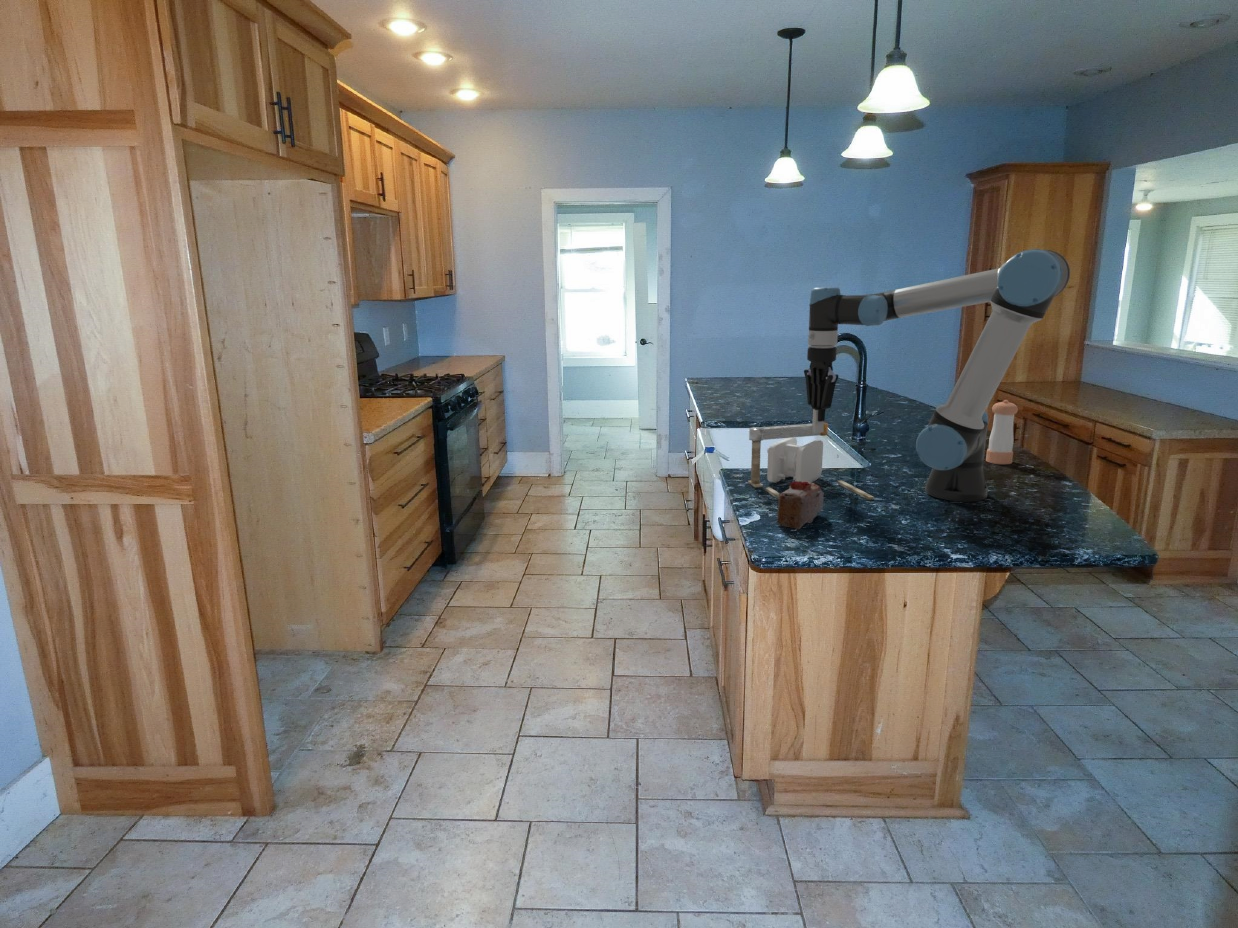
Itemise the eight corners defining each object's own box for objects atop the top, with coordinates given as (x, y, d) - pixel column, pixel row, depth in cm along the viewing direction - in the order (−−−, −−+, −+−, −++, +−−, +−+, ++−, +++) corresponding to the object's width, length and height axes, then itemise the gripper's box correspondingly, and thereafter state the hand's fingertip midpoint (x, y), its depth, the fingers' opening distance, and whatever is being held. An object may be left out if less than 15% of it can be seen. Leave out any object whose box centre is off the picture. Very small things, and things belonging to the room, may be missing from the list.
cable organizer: (799, 490, 202) (801, 449, 199) (764, 484, 208) (766, 444, 205) (822, 478, 213) (824, 439, 210) (788, 472, 219) (790, 434, 216)
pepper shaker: (1016, 464, 223) (1024, 402, 218) (992, 464, 223) (999, 402, 218) (1005, 458, 230) (1012, 397, 225) (981, 458, 230) (988, 398, 225)
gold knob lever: (830, 435, 208) (830, 424, 207) (752, 441, 202) (753, 430, 201) (823, 432, 211) (823, 421, 210) (746, 438, 206) (747, 427, 205)
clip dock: (873, 499, 193) (876, 452, 189) (786, 508, 187) (788, 460, 184) (826, 475, 216) (828, 432, 212) (747, 482, 210) (748, 439, 207)
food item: (793, 509, 186) (795, 472, 184) (824, 514, 182) (826, 476, 180) (773, 525, 175) (775, 486, 173) (806, 531, 171) (808, 491, 169)
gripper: (796, 344, 201) (793, 428, 208) (824, 349, 189) (819, 438, 196) (820, 343, 204) (815, 426, 210) (848, 347, 192) (843, 435, 198)
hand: (817, 432), depth 203 cm, fingers closed
